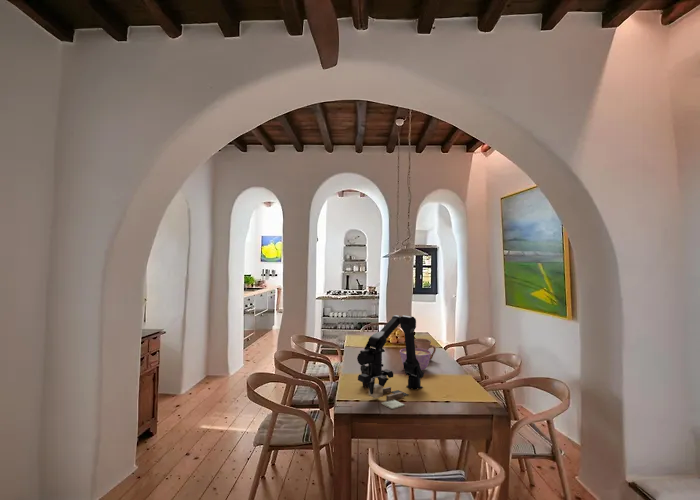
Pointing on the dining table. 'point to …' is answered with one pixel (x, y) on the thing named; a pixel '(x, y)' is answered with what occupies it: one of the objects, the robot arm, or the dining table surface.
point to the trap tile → (400, 391)
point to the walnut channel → (392, 396)
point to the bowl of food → (418, 356)
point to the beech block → (377, 391)
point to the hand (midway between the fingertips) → (375, 393)
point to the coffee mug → (366, 383)
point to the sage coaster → (392, 404)
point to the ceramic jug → (424, 345)
